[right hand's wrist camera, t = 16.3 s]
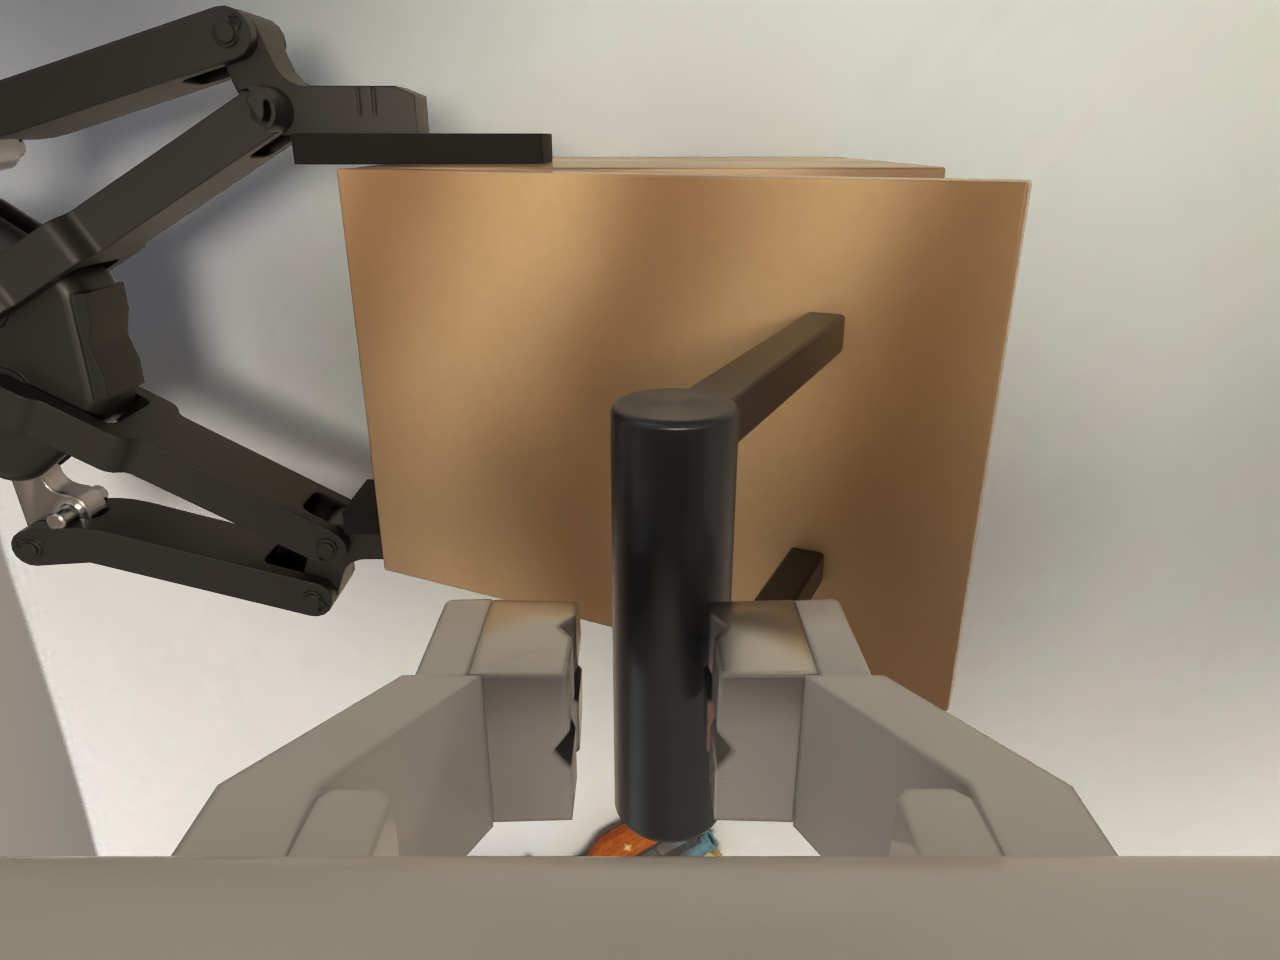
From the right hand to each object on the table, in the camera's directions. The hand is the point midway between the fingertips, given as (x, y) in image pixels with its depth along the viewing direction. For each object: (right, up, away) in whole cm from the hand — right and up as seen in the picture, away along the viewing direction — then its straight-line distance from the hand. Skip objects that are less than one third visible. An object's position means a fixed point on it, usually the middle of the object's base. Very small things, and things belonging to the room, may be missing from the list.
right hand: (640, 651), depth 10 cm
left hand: (-2, +6, +16) cm, 17 cm away
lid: (0, +3, +9) cm, 9 cm away
